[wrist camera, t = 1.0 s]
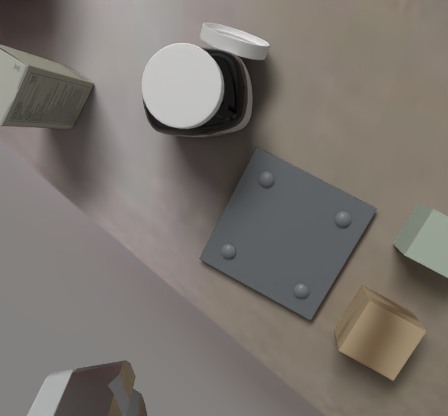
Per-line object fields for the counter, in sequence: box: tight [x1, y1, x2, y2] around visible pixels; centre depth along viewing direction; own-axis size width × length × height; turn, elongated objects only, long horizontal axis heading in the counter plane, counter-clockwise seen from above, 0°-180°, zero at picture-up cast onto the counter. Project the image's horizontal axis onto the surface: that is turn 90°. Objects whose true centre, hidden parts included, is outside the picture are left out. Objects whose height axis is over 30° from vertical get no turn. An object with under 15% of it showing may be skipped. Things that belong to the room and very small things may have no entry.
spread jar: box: [142, 22, 270, 137], centre depth 40 cm, size 12×11×12 cm
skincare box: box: [0, 45, 94, 129], centre depth 42 cm, size 6×4×12 cm
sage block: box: [393, 203, 448, 278], centre depth 41 cm, size 5×5×5 cm
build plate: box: [199, 147, 377, 320], centre depth 46 cm, size 14×14×1 cm
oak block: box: [335, 285, 426, 381], centre depth 44 cm, size 6×6×5 cm
